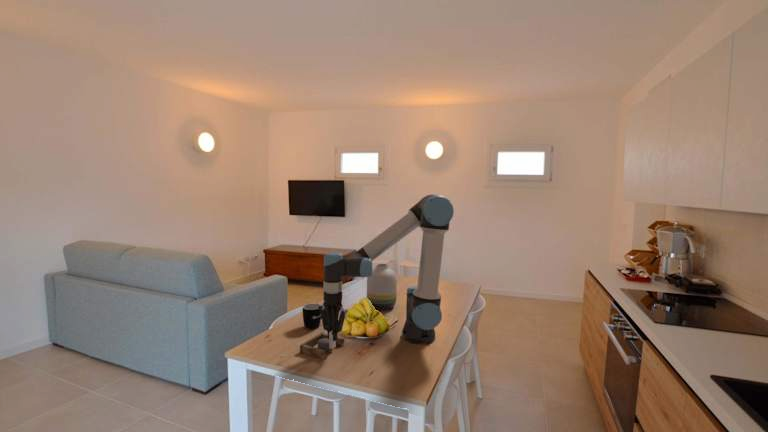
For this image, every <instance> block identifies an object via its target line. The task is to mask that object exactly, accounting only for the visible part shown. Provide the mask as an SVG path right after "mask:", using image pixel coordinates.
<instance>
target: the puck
mask: <svg viewBox="0 0 768 432" xmlns="http://www.w3.org/2000/svg"><path fill="white" fill-rule="evenodd" d="M317 348H318V349H322V350H325V351H326V354H327V353H330V352H333V349H329V339H328V338H323V339H320V340H318V344H317Z"/></svg>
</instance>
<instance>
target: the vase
mask: <svg viewBox="0 0 768 432" xmlns="http://www.w3.org/2000/svg"><path fill="white" fill-rule="evenodd" d="M397 292H398V278H397V274H396V272H395V271H393V270H392V268H390V267H389V265H388V264H387V263H377V264H376V267H375V268H372V275H371V276H370V277H366V299H367V298H368V299H369V300H370V301H371V303H372V305H373V306H374V307H375V308H376V310H388V309H391V308H393V307H394V306H395V305H396V302H397V299H398V298H397V296H398V293H397ZM375 308H374V309H375Z"/></svg>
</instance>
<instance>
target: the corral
mask: <svg viewBox="0 0 768 432" xmlns="http://www.w3.org/2000/svg"><path fill="white" fill-rule="evenodd" d="M323 338H328V333H324V332H320V333H319V334H317V335H315V336H314V337H311V338H310V339H308V340H307V341H305V342H304V343H302V344H300V345H299V353H300V354H301V353H302V354H304V355H308V356H311V357H315V358H318V359H322V360H325V359H326V354H327V353H326V351H325V350H322V349H318V347H315V346H317V345H318V340H320V339H323ZM336 346H340V347H344V346H345V338H344V337H341V336H337V340H336Z"/></svg>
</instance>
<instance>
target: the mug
mask: <svg viewBox="0 0 768 432" xmlns="http://www.w3.org/2000/svg"><path fill="white" fill-rule="evenodd" d="M321 305H322V304H320V303H313V302H312V303H306V304H304V305H303V306H302V319H303V325H304V327H305V329H307V330H316V329H318V328H319V327H320V324H321V321H322V318H321V313H320V310H319V308H318V307H319V306H321Z"/></svg>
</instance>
